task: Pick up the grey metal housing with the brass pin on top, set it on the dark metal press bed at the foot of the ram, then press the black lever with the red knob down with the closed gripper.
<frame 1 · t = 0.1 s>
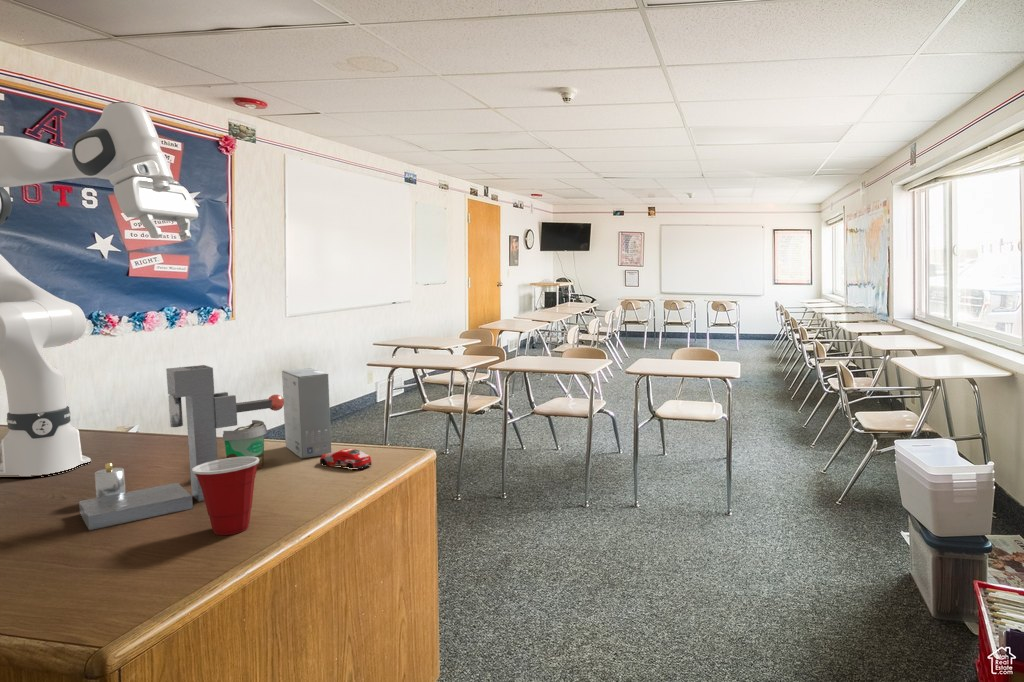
hand: (172, 238, 149), 52 cm above the table, tool tilted 20°, fingers open, 8 cm apart
lever: (250, 406, 144), point 17 cm above the table, hinge at 0.0°
housing: (111, 500, 138), on the table
race car: (345, 467, 161), on the table
hard drive box: (308, 451, 175), on the table
press: (136, 511, 132), on the table
plastic cup: (230, 530, 122), on the table
food container: (253, 469, 159), on the table
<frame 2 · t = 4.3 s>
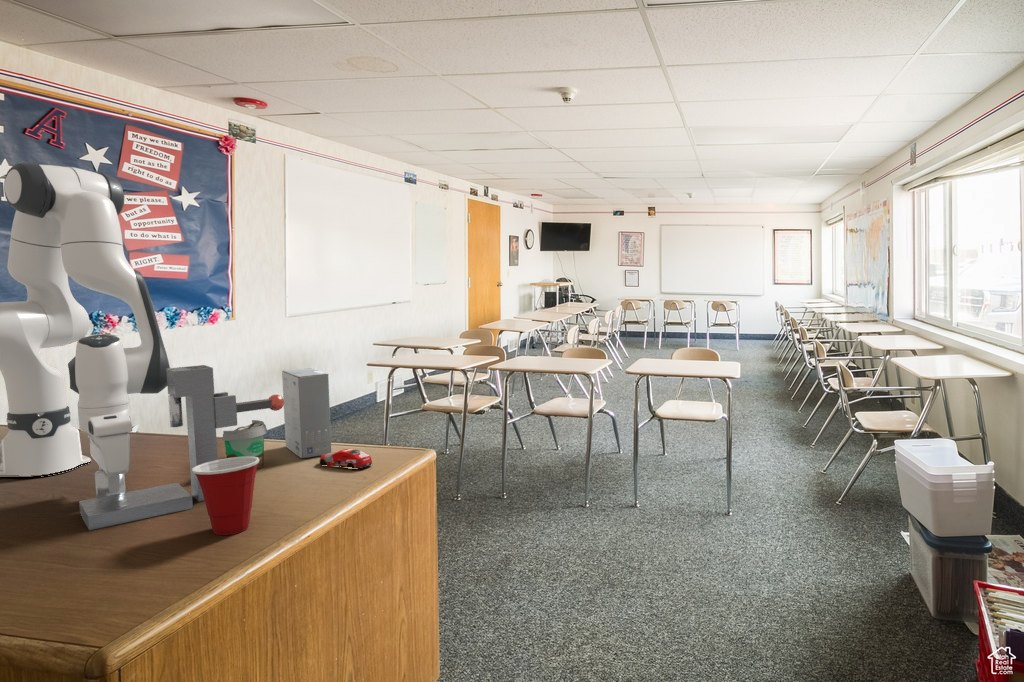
hand: (110, 487, 138), 3 cm above the table, tool pointing down, fingers closed on housing, 5 cm apart
housing: (111, 500, 138), on the table, touching gripper
everything else where it was.
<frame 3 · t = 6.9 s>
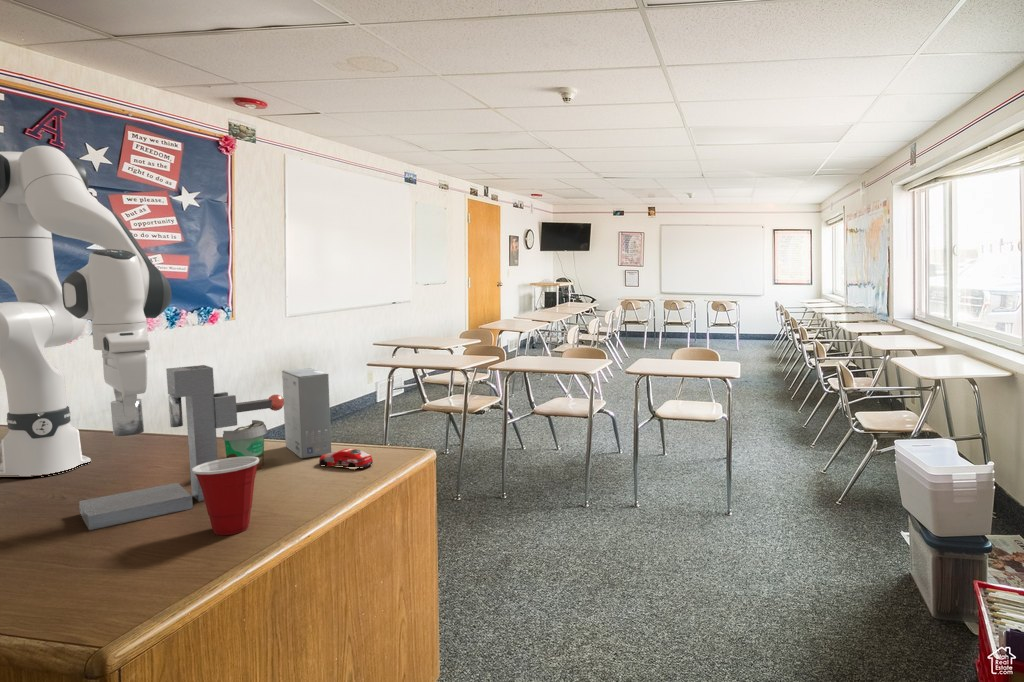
hand: (126, 412, 130), 19 cm above the table, tool pointing down, fingers closed on housing, 5 cm apart
housing: (128, 432, 130), point 15 cm above the table, touching gripper
everything else where it was.
when the fingers open (7 cm above the table, at t = 9.5 s): housing stays where it is, resting on press.
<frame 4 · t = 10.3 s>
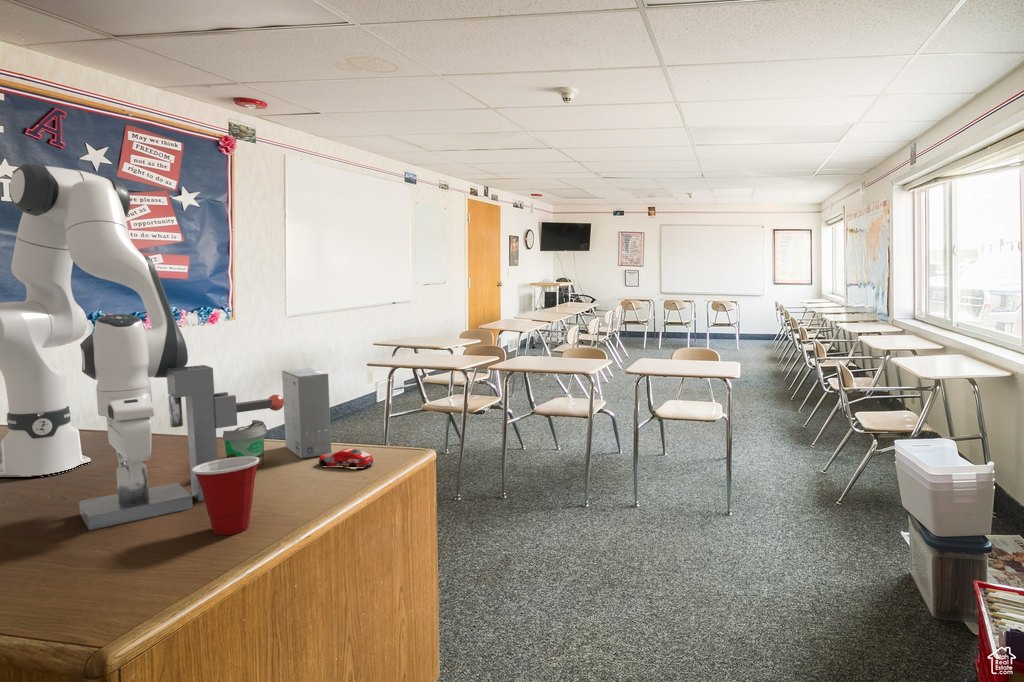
hand: (130, 476, 131), 7 cm above the table, tool pointing down, fingers open, 8 cm apart
housing: (133, 498, 131), point 2 cm above the table, touching press
everything else where it was.
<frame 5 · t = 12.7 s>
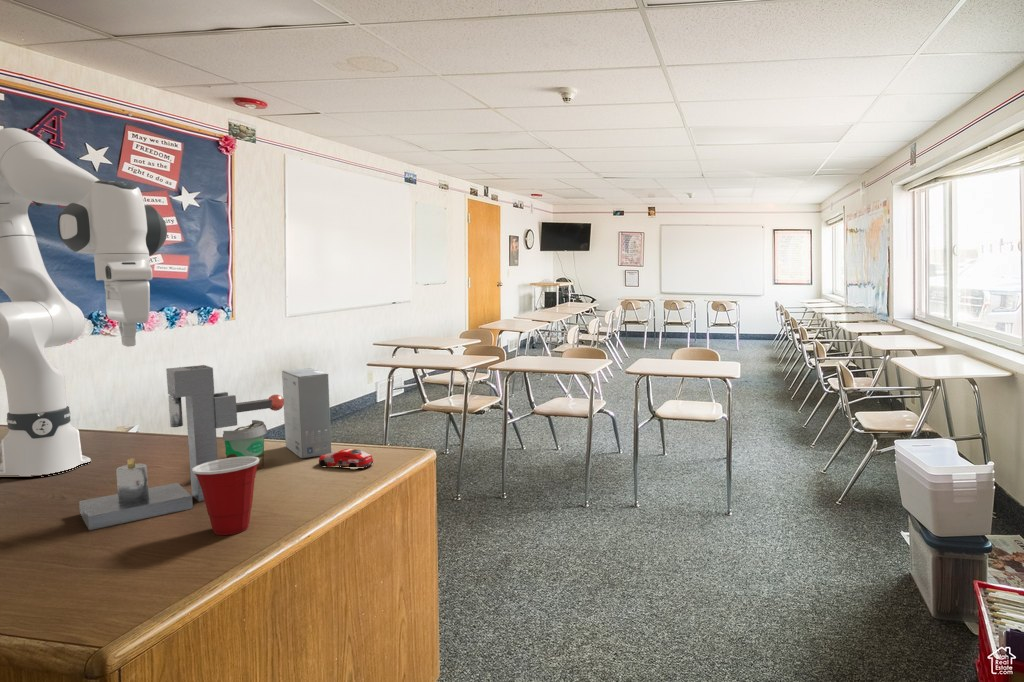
hand: (128, 345, 129), 31 cm above the table, tool pointing down, fingers closed
nothing on the table moved.
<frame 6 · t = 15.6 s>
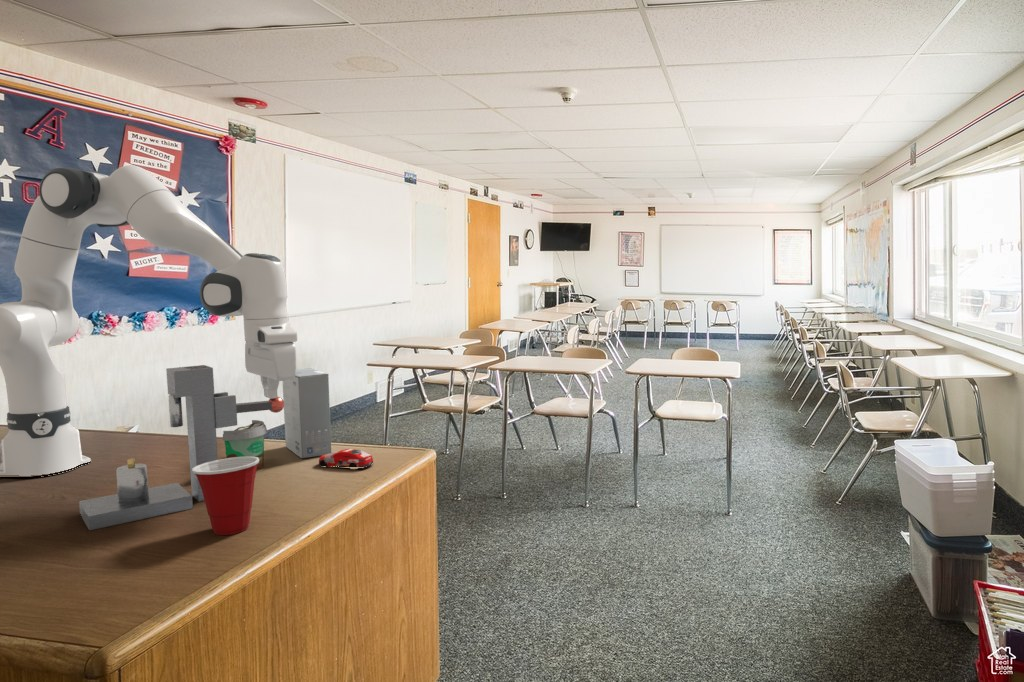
hand: (271, 397, 147), 18 cm above the table, tool pointing down, fingers closed, pressing on lever
lever: (250, 407, 144), point 17 cm above the table, hinge at -2.2°, touching gripper
everything else where it was.
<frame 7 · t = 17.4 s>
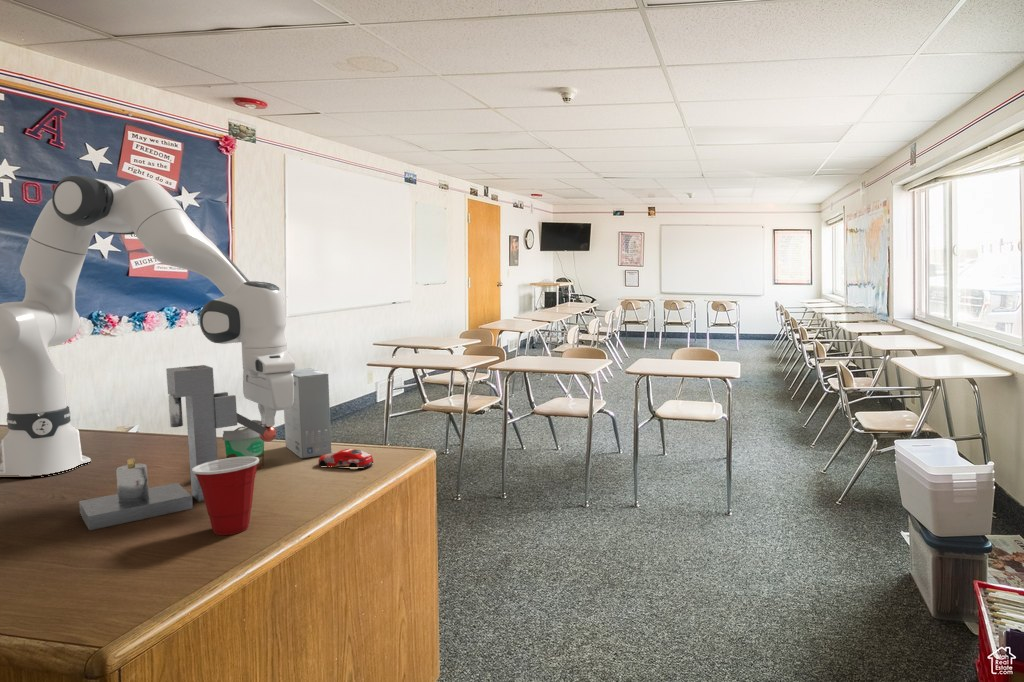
hand: (268, 425, 147), 12 cm above the table, tool pointing down, fingers closed, pressing on lever
lever: (245, 422, 144), point 14 cm above the table, hinge at -35.1°, touching gripper
everything else where it was.
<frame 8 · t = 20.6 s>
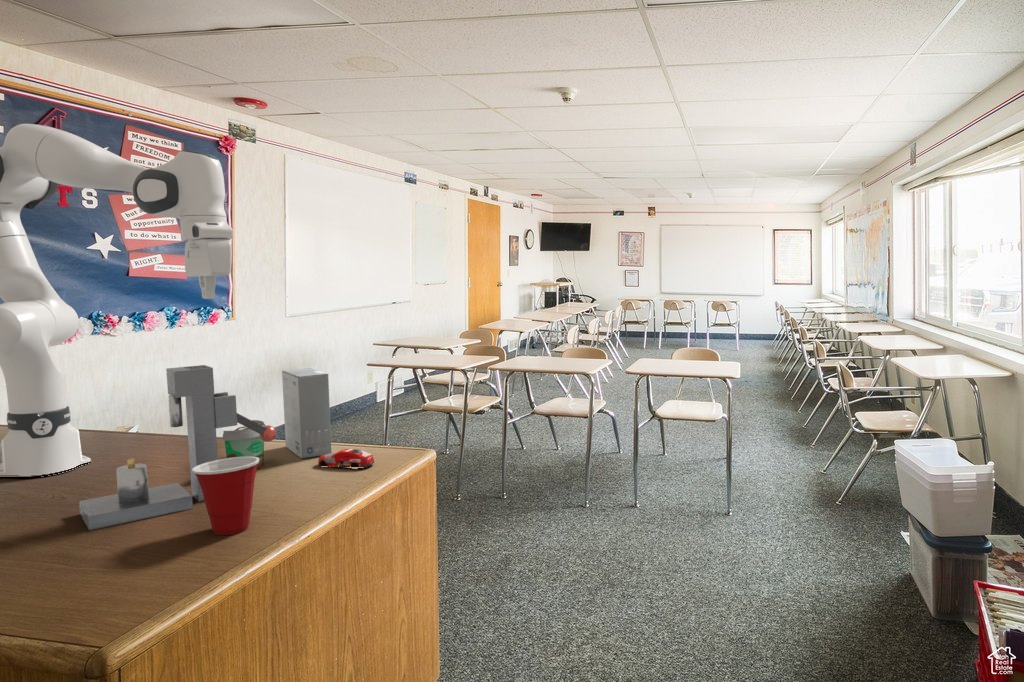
hand: (208, 298, 145), 39 cm above the table, tool pointing down, fingers closed
lever: (245, 422, 144), point 14 cm above the table, hinge at -35.2°
everything else where it was.
at the end: housing inside the target area (0.4 cm from its centre), point 2.5 cm above the table; housing tilted 0°; lever at -35° (first picture: +0°) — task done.
